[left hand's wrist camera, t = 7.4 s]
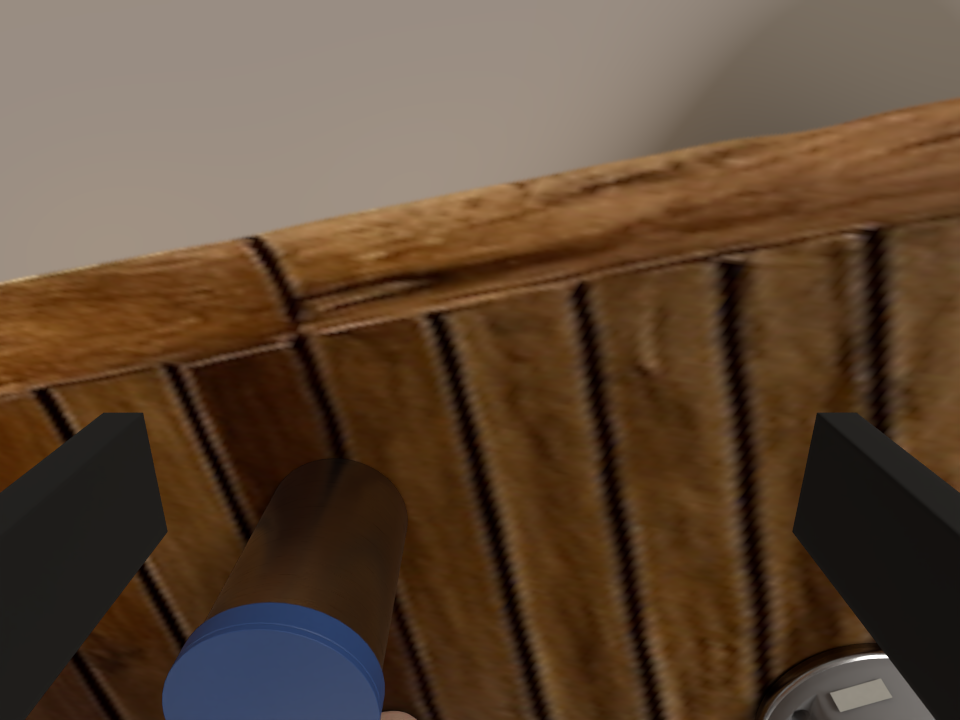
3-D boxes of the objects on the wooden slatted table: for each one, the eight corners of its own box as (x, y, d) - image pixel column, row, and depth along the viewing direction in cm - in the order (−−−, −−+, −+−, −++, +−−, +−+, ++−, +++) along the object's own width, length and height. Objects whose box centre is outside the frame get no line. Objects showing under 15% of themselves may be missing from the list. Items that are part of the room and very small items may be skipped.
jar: (293, 438, 41) (199, 601, 27) (427, 485, 43) (402, 663, 29) (255, 548, 44) (154, 744, 30) (381, 588, 46) (339, 795, 32)
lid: (205, 574, 28) (189, 601, 27) (414, 639, 30) (410, 668, 28) (158, 724, 32) (141, 756, 30) (348, 776, 33) (341, 809, 31)
